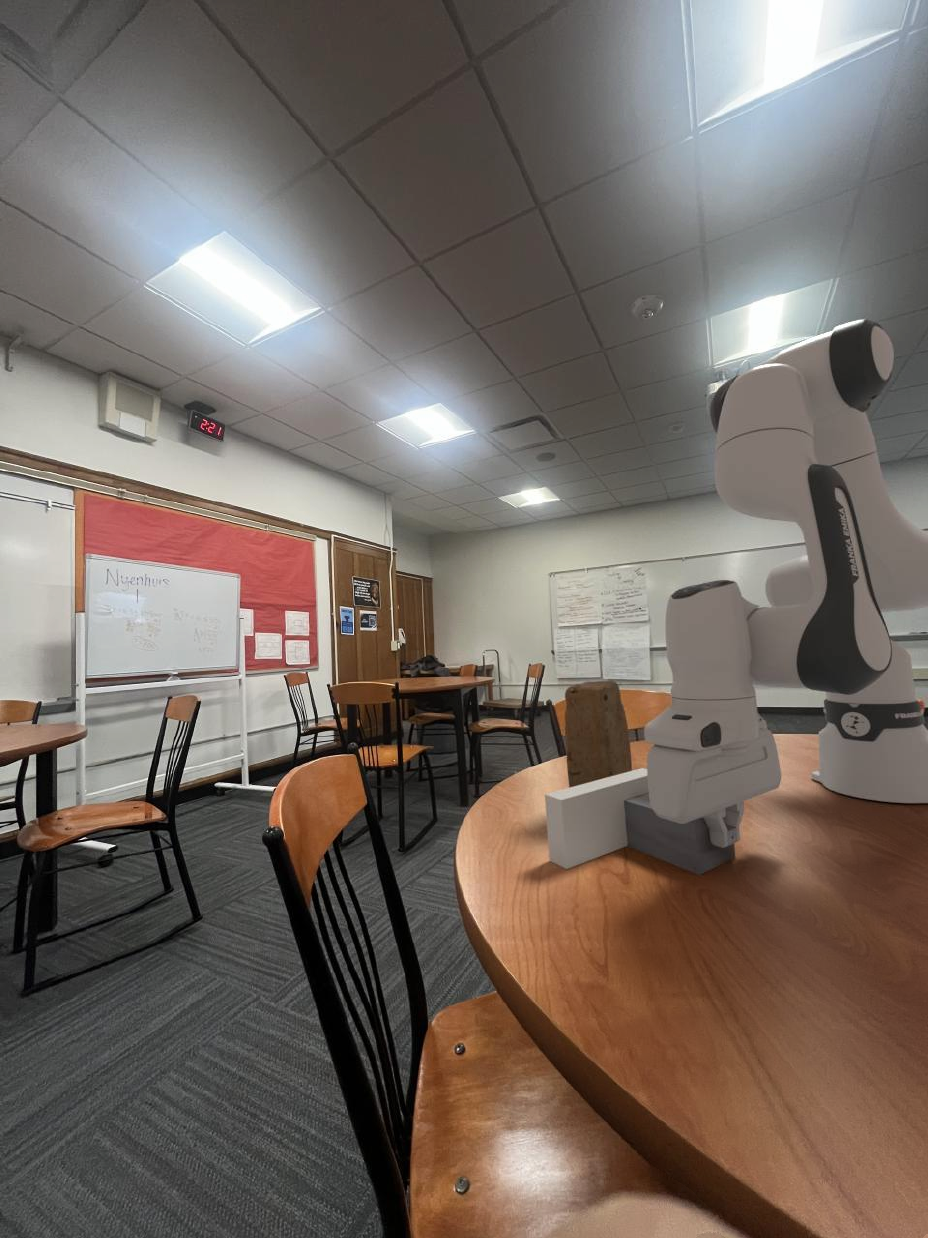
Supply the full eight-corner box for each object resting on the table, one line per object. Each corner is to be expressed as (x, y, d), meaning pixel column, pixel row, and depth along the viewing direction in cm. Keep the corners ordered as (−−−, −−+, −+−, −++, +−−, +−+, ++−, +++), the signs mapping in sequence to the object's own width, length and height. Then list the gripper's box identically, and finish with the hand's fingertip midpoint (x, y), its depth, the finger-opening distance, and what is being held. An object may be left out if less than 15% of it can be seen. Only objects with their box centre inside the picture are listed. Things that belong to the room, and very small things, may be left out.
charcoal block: (663, 834, 66) (659, 789, 66) (735, 859, 57) (730, 807, 58) (627, 847, 62) (623, 800, 63) (699, 876, 54) (694, 821, 54)
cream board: (647, 825, 69) (642, 768, 69) (665, 831, 66) (660, 771, 67) (549, 860, 60) (544, 794, 60) (566, 869, 57) (561, 800, 57)
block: (611, 824, 70) (600, 685, 71) (565, 815, 75) (555, 685, 76) (641, 803, 78) (631, 678, 79) (598, 796, 83) (589, 679, 84)
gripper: (738, 708, 64) (748, 814, 63) (633, 730, 54) (643, 858, 53) (789, 712, 59) (802, 828, 58) (684, 737, 48) (697, 880, 47)
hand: (725, 843), depth 55 cm, fingers closed
